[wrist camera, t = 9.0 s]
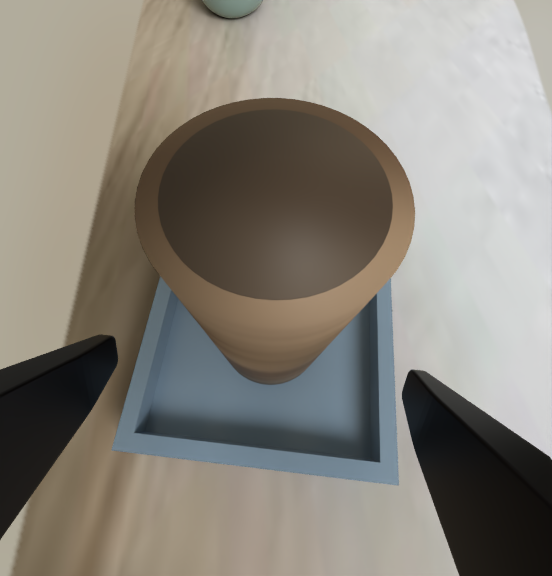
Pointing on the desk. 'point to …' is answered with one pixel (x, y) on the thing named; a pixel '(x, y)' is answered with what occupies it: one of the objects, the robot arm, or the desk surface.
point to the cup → (232, 7)
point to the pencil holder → (274, 227)
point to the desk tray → (266, 400)
